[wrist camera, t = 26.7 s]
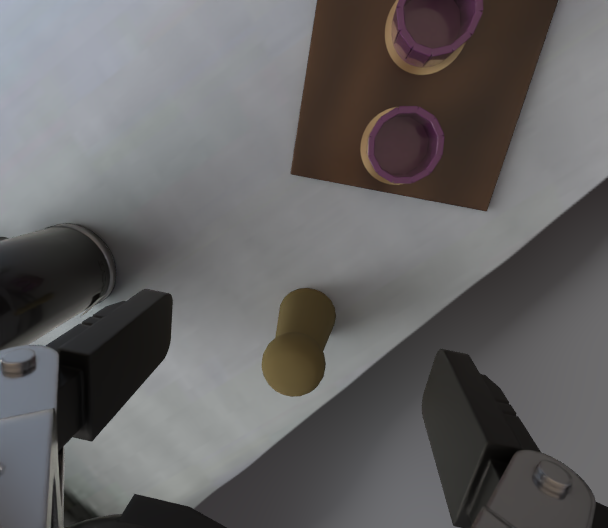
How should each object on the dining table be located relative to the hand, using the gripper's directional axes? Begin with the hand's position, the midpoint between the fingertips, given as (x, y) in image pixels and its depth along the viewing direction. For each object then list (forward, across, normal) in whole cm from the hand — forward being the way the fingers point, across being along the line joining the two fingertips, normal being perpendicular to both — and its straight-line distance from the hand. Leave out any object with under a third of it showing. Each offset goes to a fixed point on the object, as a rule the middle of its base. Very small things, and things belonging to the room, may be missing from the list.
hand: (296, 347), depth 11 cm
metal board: (+25, -5, -16) cm, 30 cm away
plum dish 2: (+25, -5, -7) cm, 26 cm away
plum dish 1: (+25, -5, -16) cm, 30 cm away
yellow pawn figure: (+26, 0, +11) cm, 28 cm away
